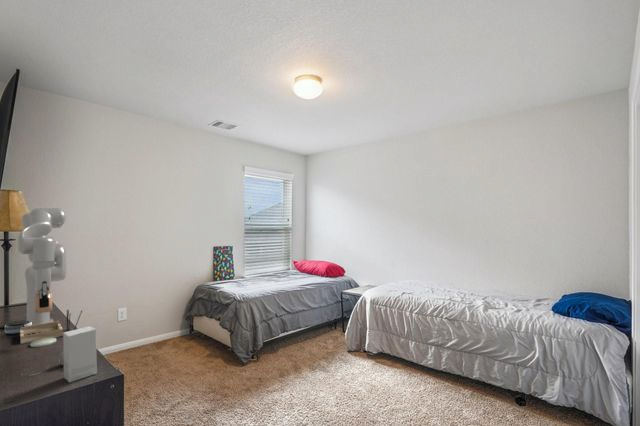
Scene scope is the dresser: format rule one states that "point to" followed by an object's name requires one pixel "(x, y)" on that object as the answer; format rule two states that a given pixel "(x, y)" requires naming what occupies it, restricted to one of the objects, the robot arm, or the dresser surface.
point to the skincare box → (79, 353)
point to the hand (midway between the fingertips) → (43, 305)
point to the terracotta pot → (44, 309)
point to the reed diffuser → (61, 358)
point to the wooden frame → (40, 328)
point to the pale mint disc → (43, 342)
